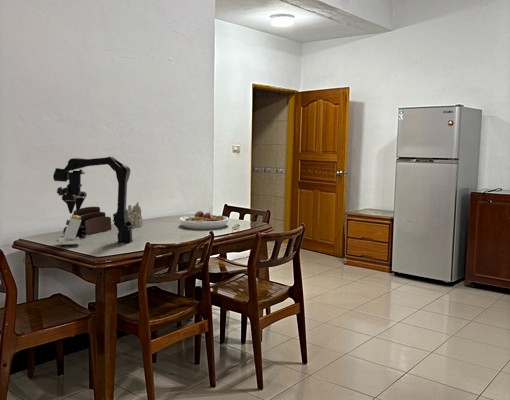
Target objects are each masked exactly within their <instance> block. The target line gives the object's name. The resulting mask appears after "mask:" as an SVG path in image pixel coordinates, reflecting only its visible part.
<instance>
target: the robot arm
mask: <svg viewBox="0 0 510 400" xmlns="http://www.w3.org/2000/svg"><path fill="white" fill-rule="evenodd" d="M104 165H105V166H106V165H108V166H109V167H110V168H111V169H112V170H113V171H114V172H115V175H116V180H117V183H118V184H117V187H118V188H117V210H116V212H114V213H112V214H113V215H112V216H113V220H112V222H113V224H114V226H115V227H116V228H117V231H118V232H117V243H124V244H125V243H127V244H128V243H131V242H133V241H134V239H133V228H132V226H133V225H132V224H131V223H130V222H129V221H128V214H127V211H126V209H127V195H128V194H127V193H128V192H127V191H128V190H127V189H128V182H129V179H130V175H131V168H130V166H128V165H126V164H125V165H124V164H123V163H122V162H120V161H119V160H118V159H116V158H115V157H114V156H107V157H100V158H99V157H97V158H81V157H74V158H70V159H69V160H68V162H67V165H65V167H64V168H60V167H59V168H58V167H56V168H55V170H54V172H53V175H52V176H53V177H52V178H53V181H55V182H63V183H66V182H67V181H68V183H67V185H66V187H62V186H61V187H57V188H56V189H57V190H56V194H58V196H59V197H60V196H61V200H62V201H63V202H64V203H65V204H66V206H67V208H68V212H69V214H71V215H72V214H73V212H74V209H75V210H77V211H79V209H80V208H81V207H82V205H83V203H84V201H85V200H86V198H87V196H88V195H87V192H86V191H81V189H82V187H83V184H82V180H81V178H82V177H81V176H82V175H84V174H86V172H85V171H84V170H83V169H84V168H86V167H93V166H94V167H95V166H104Z"/></svg>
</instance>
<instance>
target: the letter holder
mask: <svg viewBox="0 0 510 400" xmlns="http://www.w3.org/2000/svg"><path fill="white" fill-rule="evenodd" d="M72 214H74V215H77V216H81V223H80V225H83V226H84V227H86V230H84V229H83V231H84V232H86V236H88V235H92V234H96V233H98V234H99V233H101V232H102V233H103V232H107V231H112V229H113V228H112V218H111V216H106V212H104V211H101V208H100V207H99V206H87V207H85V206H84V207H82V208H81V207H80V209H79V211H77V210H76V209H75V210H73V212H72Z"/></svg>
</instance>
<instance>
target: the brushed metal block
mask: <svg viewBox="0 0 510 400" xmlns="http://www.w3.org/2000/svg"><path fill="white" fill-rule="evenodd" d="M80 223H81V216H77V215H74V214H73V213H72V214H71V216H70V218H69V219H66V223H65V225H66V227H67V228H66V231H65V234H64V233H63V235H64V237H63V238H69V239H73V240H75V237H76V234H77V231H78V229H79V226H80Z"/></svg>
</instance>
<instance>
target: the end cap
mask: <svg viewBox="0 0 510 400" xmlns="http://www.w3.org/2000/svg"><path fill="white" fill-rule="evenodd" d="M66 228H67V226H65V227H64V228H63V231H62V232H63V235H64V234H65V231H66ZM83 229H84V230H86V227H84V226H83V225H80V226H79V229H78V231H77V234H76V237H79V239H80V238H81V239H85V238H87V235H86V232H84V231H83ZM81 239H80V240H81Z"/></svg>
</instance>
